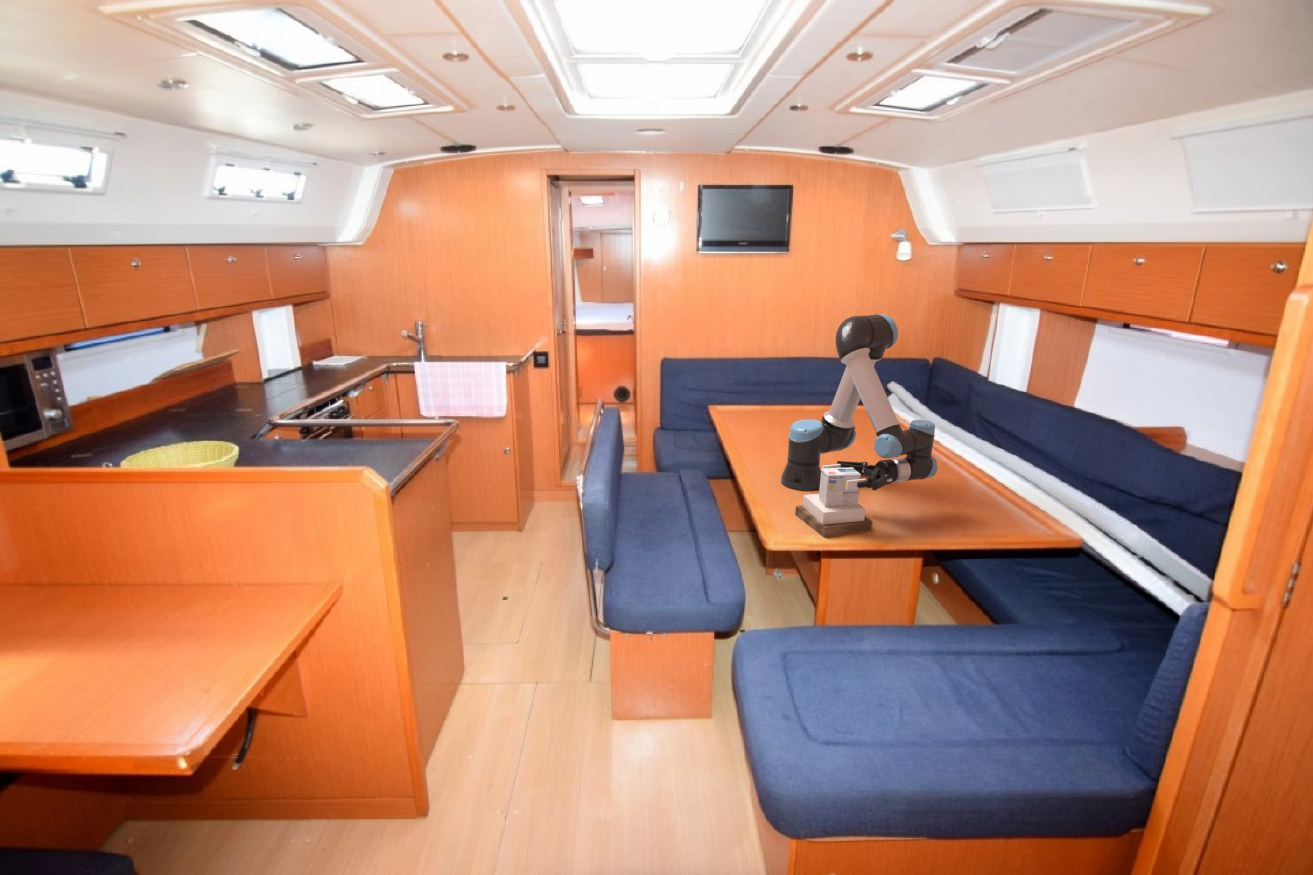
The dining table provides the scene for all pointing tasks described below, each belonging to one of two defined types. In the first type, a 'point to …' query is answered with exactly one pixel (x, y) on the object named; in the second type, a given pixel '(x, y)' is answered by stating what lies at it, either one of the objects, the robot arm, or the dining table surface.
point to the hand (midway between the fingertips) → (834, 477)
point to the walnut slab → (835, 528)
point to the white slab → (832, 511)
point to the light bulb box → (838, 487)
